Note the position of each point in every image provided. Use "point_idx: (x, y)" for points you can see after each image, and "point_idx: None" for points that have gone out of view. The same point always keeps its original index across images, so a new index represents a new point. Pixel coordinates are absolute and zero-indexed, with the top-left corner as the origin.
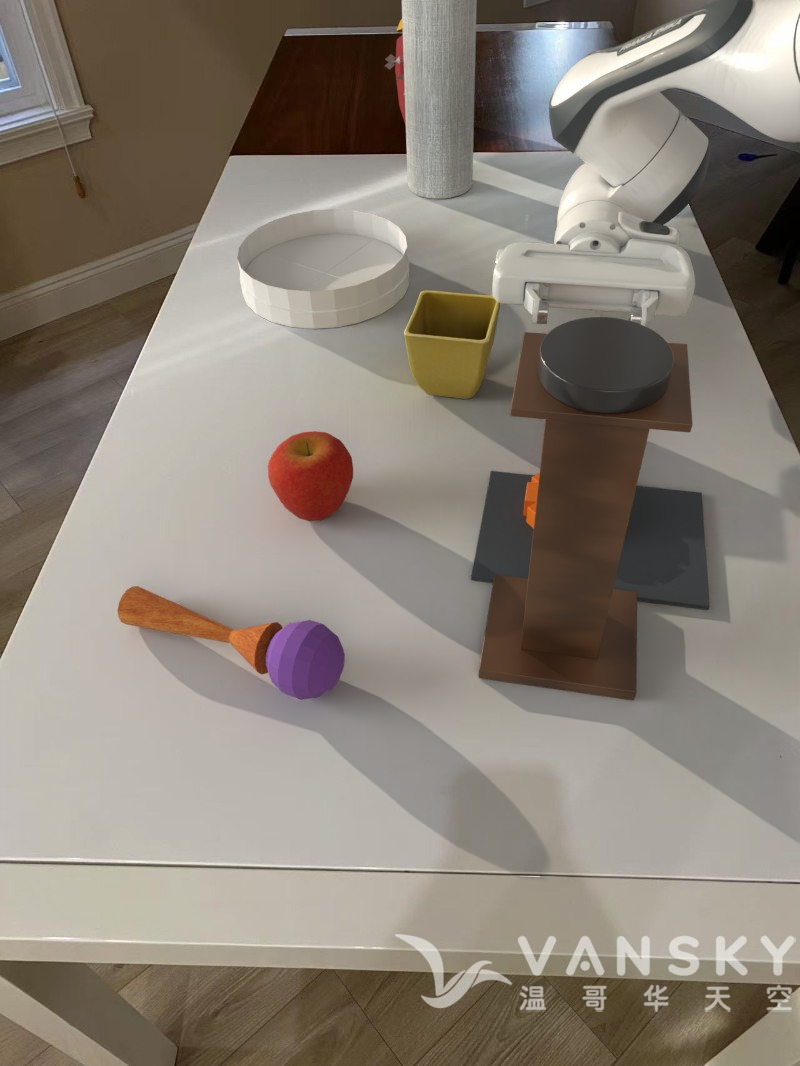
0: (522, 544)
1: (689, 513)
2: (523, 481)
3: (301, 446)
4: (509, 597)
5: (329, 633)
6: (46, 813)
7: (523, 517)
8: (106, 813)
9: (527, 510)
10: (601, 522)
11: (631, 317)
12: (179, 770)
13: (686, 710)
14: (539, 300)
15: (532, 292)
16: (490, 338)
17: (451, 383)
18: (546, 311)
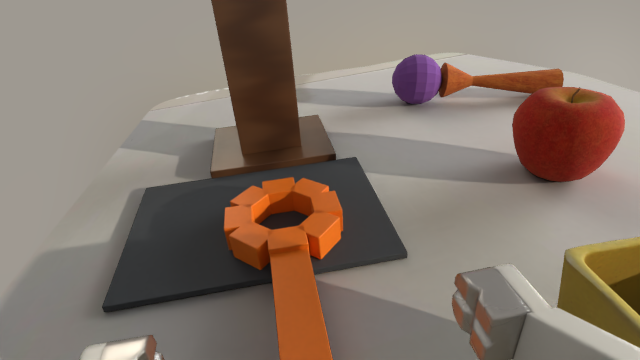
0: None
1: (133, 268)
2: (356, 250)
3: (586, 99)
4: (315, 144)
5: (407, 68)
6: (473, 60)
7: None
8: (451, 64)
9: (328, 190)
10: None
11: (149, 335)
12: None
13: (183, 142)
14: (529, 307)
15: (604, 343)
16: (597, 313)
17: None
18: (462, 273)
